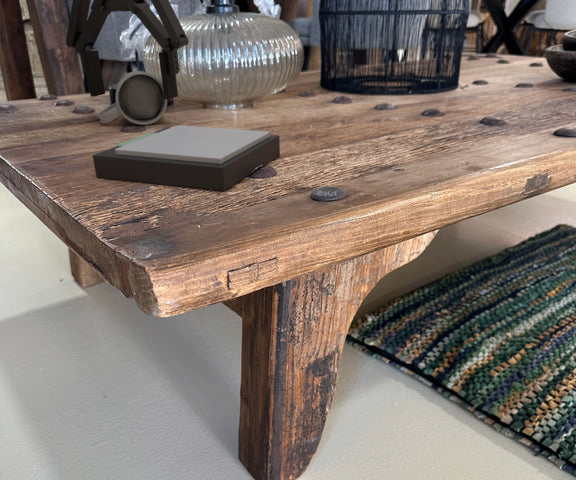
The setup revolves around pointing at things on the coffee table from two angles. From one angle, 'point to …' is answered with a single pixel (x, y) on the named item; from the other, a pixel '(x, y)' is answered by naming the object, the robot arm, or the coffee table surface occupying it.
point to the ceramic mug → (137, 100)
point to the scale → (189, 157)
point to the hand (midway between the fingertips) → (133, 96)
